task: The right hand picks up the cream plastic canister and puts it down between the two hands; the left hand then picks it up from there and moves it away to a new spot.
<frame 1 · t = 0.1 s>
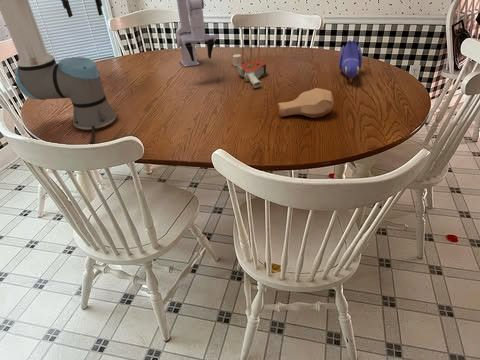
left hand: (85, 15, 157), 28 cm above the table, tool pointing down, fingers open, 13 cm apart
right hand: (201, 59, 156), 10 cm above the table, tool pointing down, fingers open, 7 cm apart
toy: (349, 77, 157), on the table
squash: (305, 114, 129), on the table
canister: (237, 65, 178), on the table
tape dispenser: (251, 79, 161), on the table
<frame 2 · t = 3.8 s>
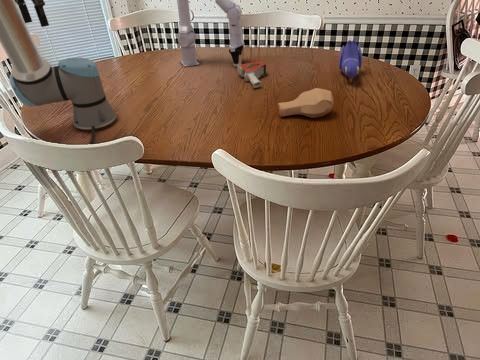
left hand: (36, 24, 138), 30 cm above the table, tool pointing down, fingers open, 13 cm apart
right hand: (237, 62, 177), 1 cm above the table, tool pointing down, fingers closed on canister, 4 cm apart
canister: (237, 65, 178), on the table, touching right hand
everything else where it was.
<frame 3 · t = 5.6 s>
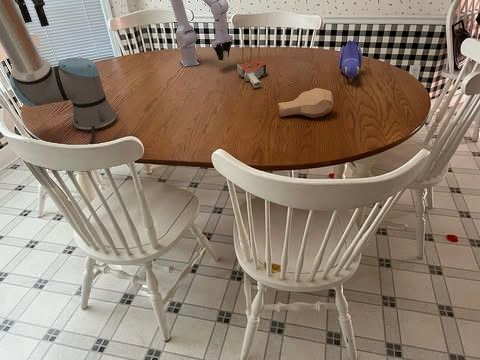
left hand: (36, 24, 138), 30 cm above the table, tool pointing down, fingers open, 13 cm apart
right hand: (223, 58, 171), 5 cm above the table, tool pointing down, fingers closed on canister, 4 cm apart
canister: (223, 61, 172), point 4 cm above the table, touching right hand
everything else where it was.
when the right hand's fingers open (2 cm above the table, at t = 7.7 s): canister stays where it is, on the table.
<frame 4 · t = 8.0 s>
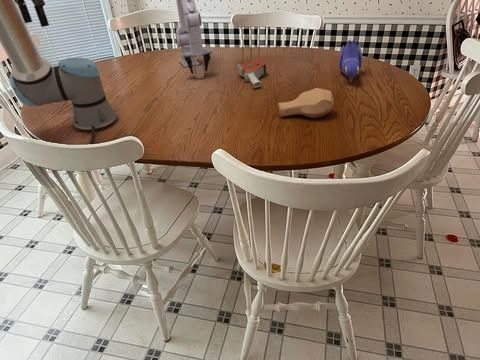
left hand: (36, 24, 138), 30 cm above the table, tool pointing down, fingers open, 13 cm apart
right hand: (199, 71, 166), 2 cm above the table, tool pointing down, fingers open, 6 cm apart
canister: (199, 76, 168), on the table
everything else where it was.
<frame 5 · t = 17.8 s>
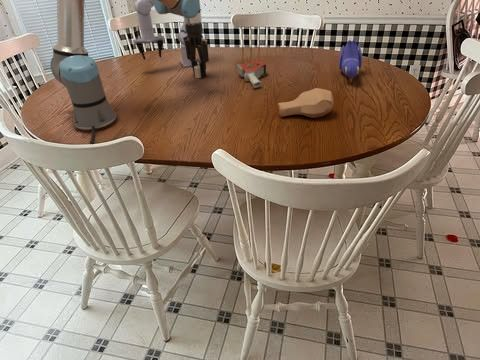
left hand: (200, 75, 168), 0 cm above the table, tool pointing down, fingers closed on canister, 4 cm apart
right hand: (152, 58, 173), 7 cm above the table, tool pointing down, fingers open, 7 cm apart
canister: (199, 76, 168), on the table, touching left hand
everything else where it was.
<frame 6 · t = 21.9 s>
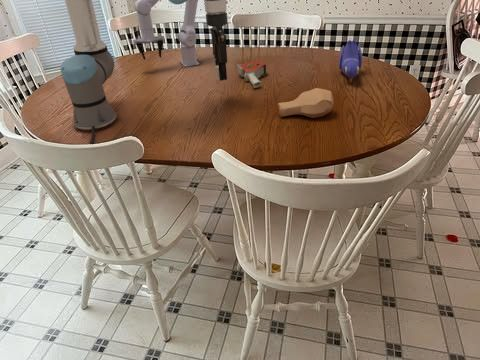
left hand: (221, 77, 137), 10 cm above the table, tool pointing down, fingers closed on canister, 4 cm apart
right hand: (152, 58, 173), 7 cm above the table, tool pointing down, fingers open, 7 cm apart
canister: (221, 78, 138), point 9 cm above the table, touching left hand
everything else where it was.
when the left hand's fingers open (1 cm above the table, at t = 26.2 s): canister stays where it is, on the table.
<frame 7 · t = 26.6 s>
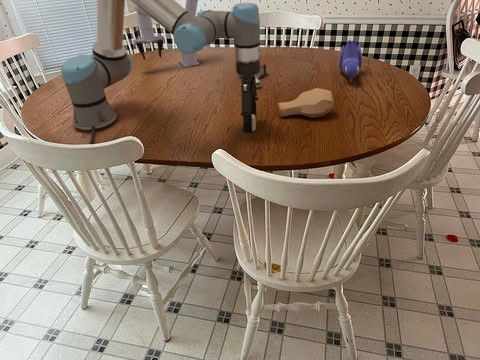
left hand: (250, 125, 122), 1 cm above the table, tool pointing down, fingers open, 9 cm apart
right hand: (152, 58, 173), 7 cm above the table, tool pointing down, fingers open, 7 cm apart
canister: (249, 128, 123), on the table
everything else where it was.
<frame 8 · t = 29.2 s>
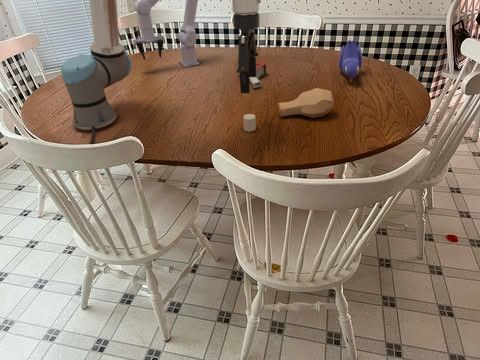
left hand: (248, 84, 114), 16 cm above the table, tool pointing down, fingers open, 13 cm apart
right hand: (152, 58, 173), 7 cm above the table, tool pointing down, fingers open, 7 cm apart
nothing on the table moved.
at the end: canister inside the target area (0.3 cm from its centre), on the table; canister tilted 0°; the two hands never held the canister at the same time; the left hand is holding nothing; the right hand is holding nothing; canister at rest at the end (0.0 cm/s) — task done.
